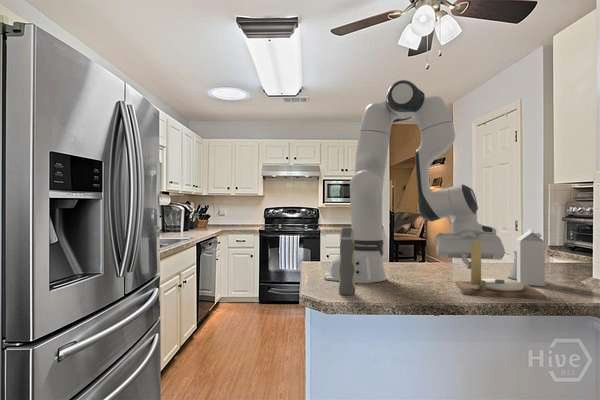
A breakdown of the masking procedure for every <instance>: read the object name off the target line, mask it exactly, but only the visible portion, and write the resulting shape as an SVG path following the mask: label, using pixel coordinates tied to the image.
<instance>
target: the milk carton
mask: <svg viewBox="0 0 600 400" xmlns="http://www.w3.org/2000/svg"><path fill="white" fill-rule="evenodd" d="M545 243H546V242H545V241H544V240H543V239H542V234H541V233H539V232H538V231H535V232H534V231H533V229H532V228H530V227H527V231H526V232H524V233H523V234H522V235H520V236H519V237H517V238H516V251H517V280H516V282H519V283H522V284H527V285H529V286H531V287H532V286H534V287H545V286H546V282H545V281H546V276H545V275H546V272H545V270H546V269H545V267H546V265H545V261H546V259H545V258H546V256H545V254H546V253H545V248H546V246H545Z"/></svg>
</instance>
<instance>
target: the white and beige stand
mask: <svg viewBox="0 0 600 400" xmlns="http://www.w3.org/2000/svg"><path fill="white" fill-rule="evenodd" d="M470 262H471V269H470V281H471V283H470V288H474V289H480V280H484V281H486V289H491V290H498V291H521V290H524V285H523V284H522V283H519V282H518V281H517V280H512V279H511V280H509V279H502V278H482V259H481V242H471V259H470Z"/></svg>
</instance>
